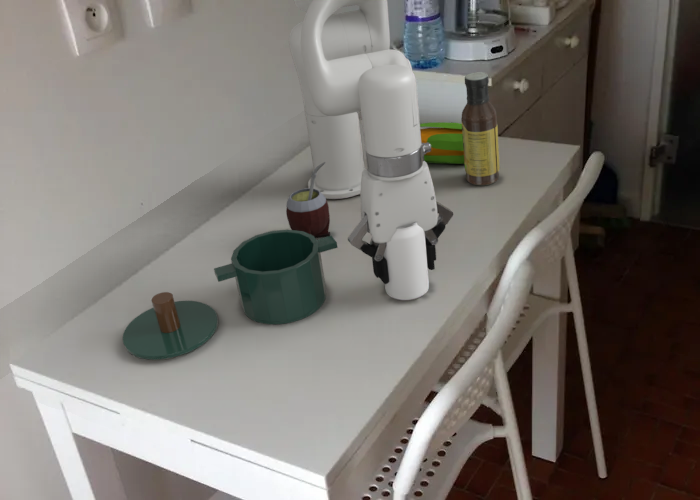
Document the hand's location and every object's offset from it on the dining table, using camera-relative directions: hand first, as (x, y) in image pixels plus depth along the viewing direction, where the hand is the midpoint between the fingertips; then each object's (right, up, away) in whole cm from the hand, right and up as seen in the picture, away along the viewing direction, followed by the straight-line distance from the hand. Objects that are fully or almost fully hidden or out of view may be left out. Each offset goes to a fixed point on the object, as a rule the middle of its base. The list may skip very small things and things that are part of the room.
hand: (405, 271), depth 117 cm
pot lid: (-34, -8, -1) cm, 35 cm away
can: (0, -3, +2) cm, 3 cm away
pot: (-18, -4, +3) cm, 19 cm away
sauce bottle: (+16, +16, +31) cm, 38 cm away
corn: (+9, +21, +41) cm, 47 cm away
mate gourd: (-14, +5, +19) cm, 24 cm away
